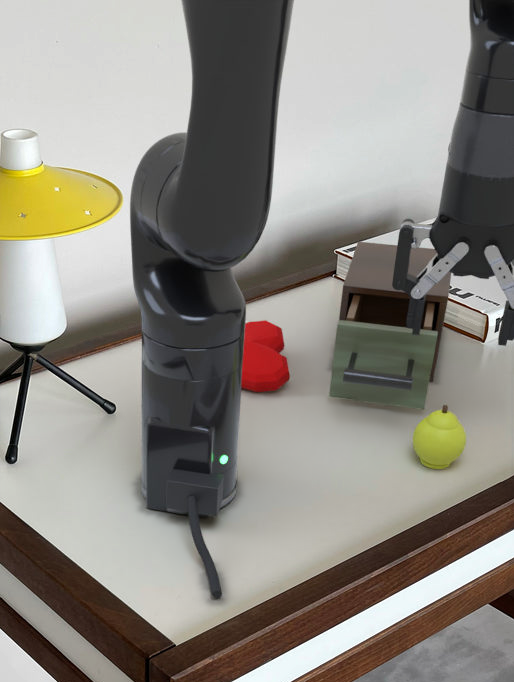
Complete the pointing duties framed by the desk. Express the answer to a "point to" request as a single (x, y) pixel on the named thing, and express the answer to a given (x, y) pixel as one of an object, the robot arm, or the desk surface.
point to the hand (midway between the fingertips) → (458, 336)
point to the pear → (439, 439)
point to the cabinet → (377, 275)
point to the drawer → (383, 353)
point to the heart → (263, 357)
